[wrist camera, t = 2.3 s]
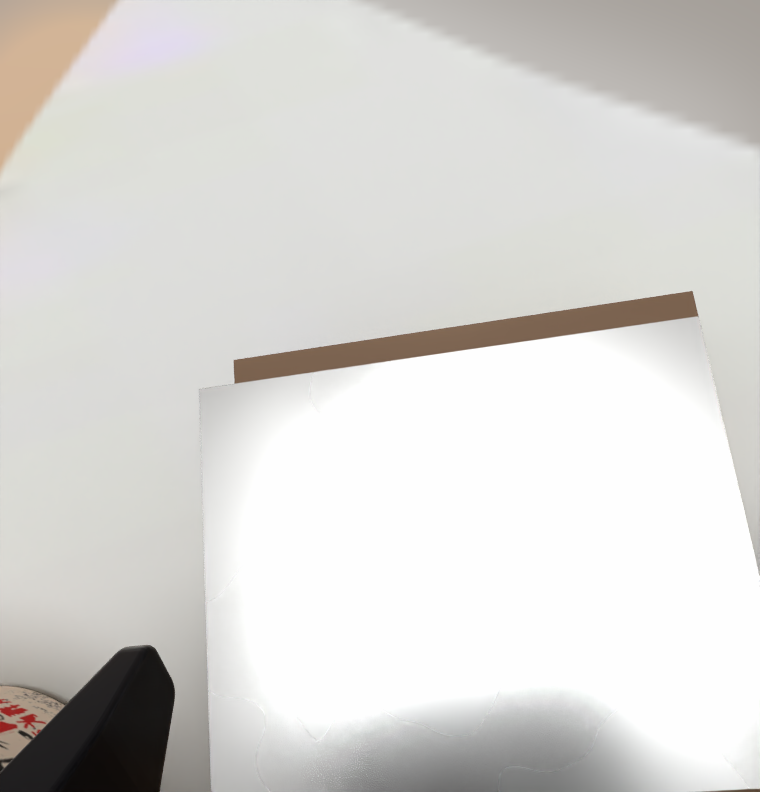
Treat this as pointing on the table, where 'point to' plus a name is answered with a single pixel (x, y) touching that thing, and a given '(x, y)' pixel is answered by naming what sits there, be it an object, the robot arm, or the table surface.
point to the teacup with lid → (22, 719)
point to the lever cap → (482, 574)
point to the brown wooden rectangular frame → (471, 341)
